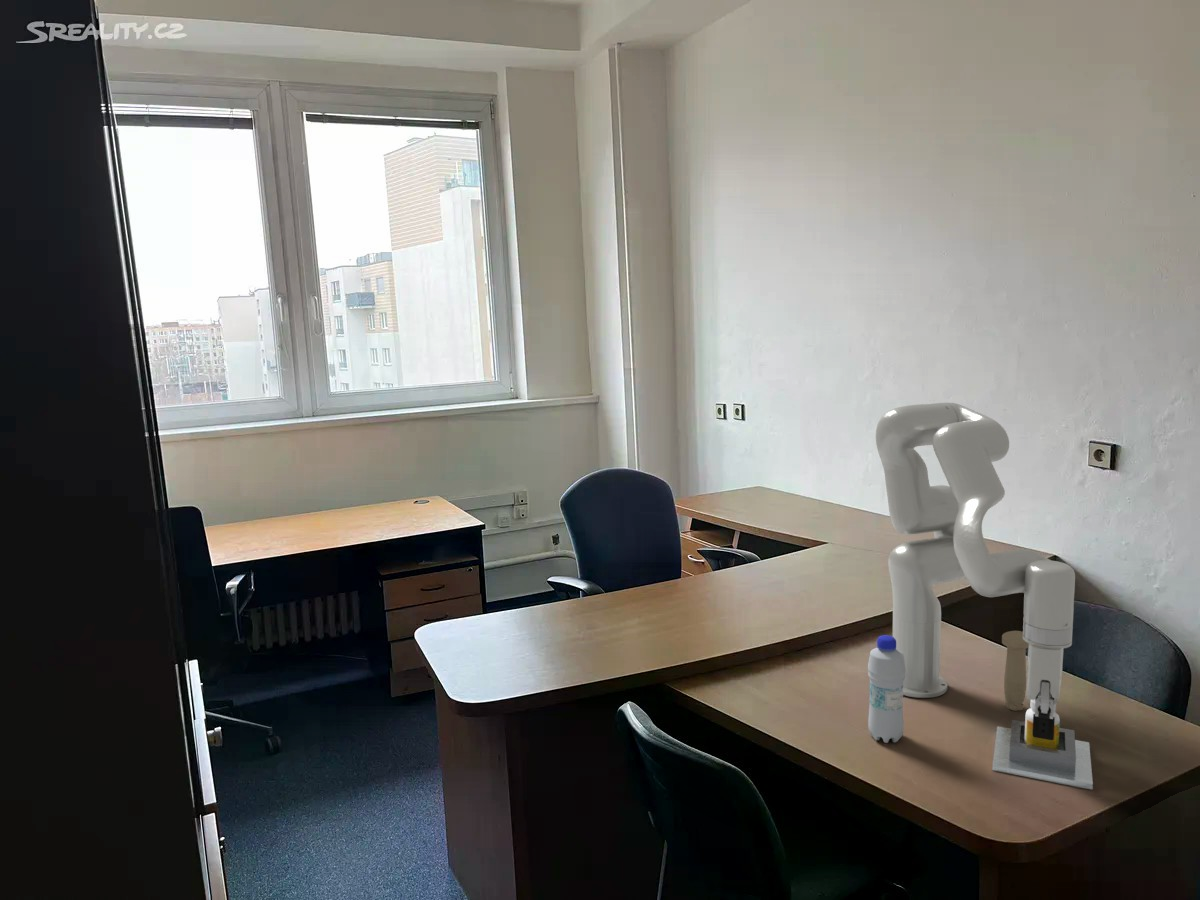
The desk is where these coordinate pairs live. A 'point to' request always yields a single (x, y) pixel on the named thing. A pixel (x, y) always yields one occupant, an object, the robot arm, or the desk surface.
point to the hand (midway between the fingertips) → (1043, 725)
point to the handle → (1015, 669)
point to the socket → (1043, 757)
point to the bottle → (886, 690)
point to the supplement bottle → (1029, 729)
